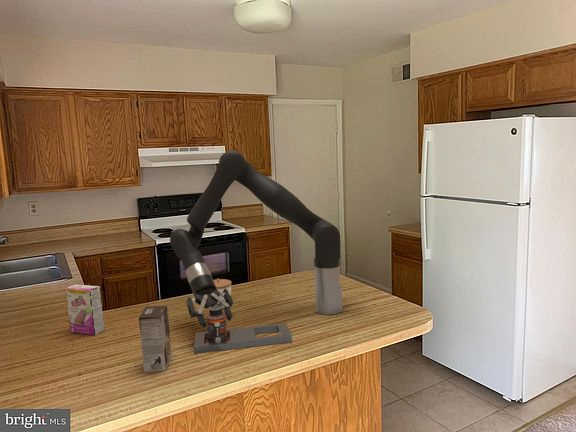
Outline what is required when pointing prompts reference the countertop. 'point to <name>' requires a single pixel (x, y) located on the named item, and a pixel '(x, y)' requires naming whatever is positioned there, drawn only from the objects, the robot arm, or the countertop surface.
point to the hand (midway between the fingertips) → (217, 322)
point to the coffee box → (155, 338)
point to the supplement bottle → (216, 325)
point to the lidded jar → (223, 286)
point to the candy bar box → (85, 309)
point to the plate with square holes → (243, 338)
